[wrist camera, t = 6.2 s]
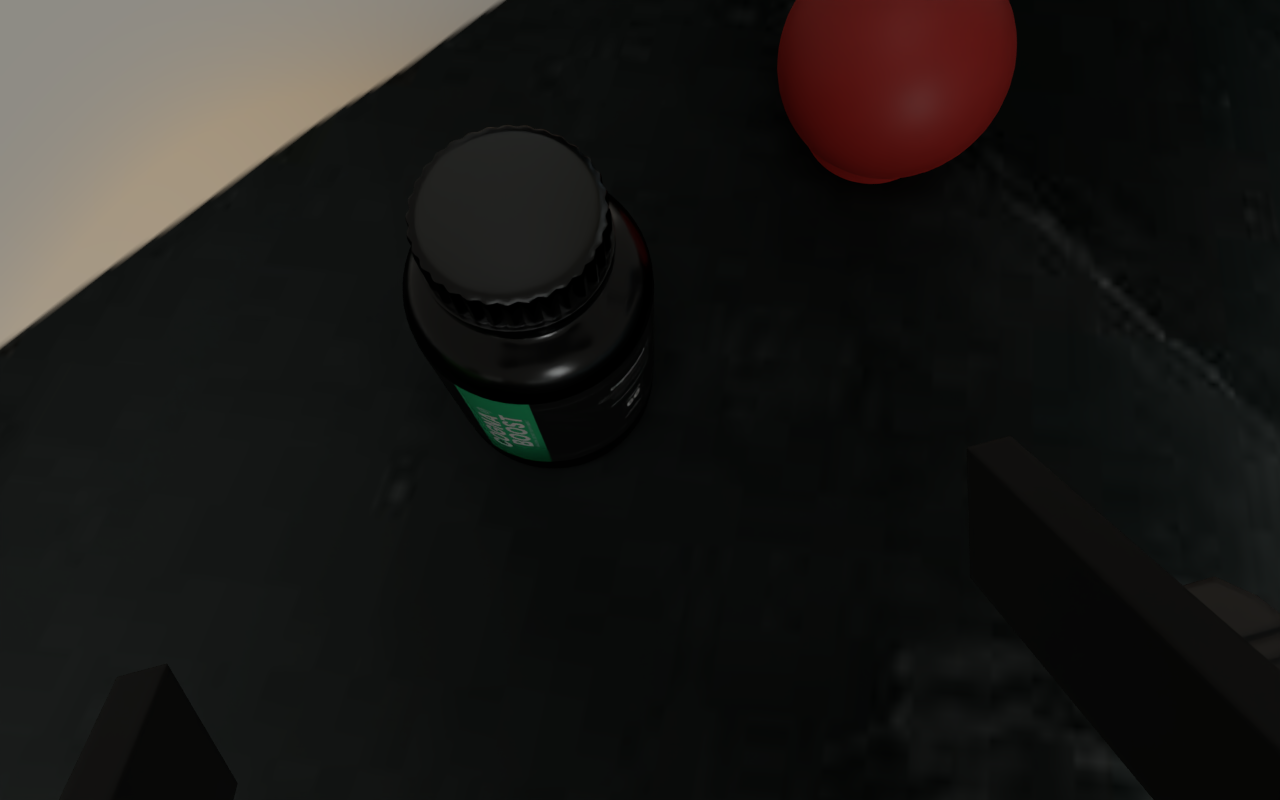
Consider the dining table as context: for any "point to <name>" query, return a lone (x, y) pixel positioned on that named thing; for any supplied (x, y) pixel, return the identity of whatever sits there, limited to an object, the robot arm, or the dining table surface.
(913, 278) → the dining table surface
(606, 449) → the supplement bottle
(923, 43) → the apple
